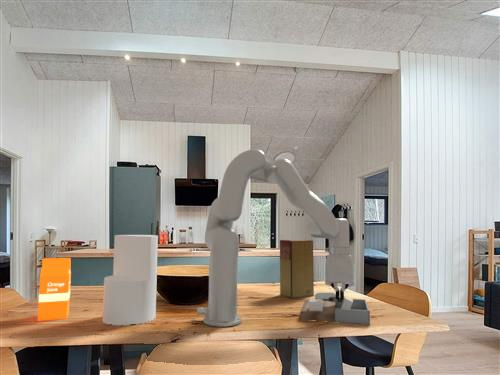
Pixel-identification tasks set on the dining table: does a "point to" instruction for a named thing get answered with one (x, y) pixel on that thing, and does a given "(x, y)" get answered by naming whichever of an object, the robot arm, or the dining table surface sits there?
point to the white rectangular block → (315, 305)
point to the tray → (353, 313)
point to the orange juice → (54, 289)
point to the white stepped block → (131, 281)
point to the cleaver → (326, 296)
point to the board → (319, 312)
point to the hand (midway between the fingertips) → (339, 301)
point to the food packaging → (296, 268)
